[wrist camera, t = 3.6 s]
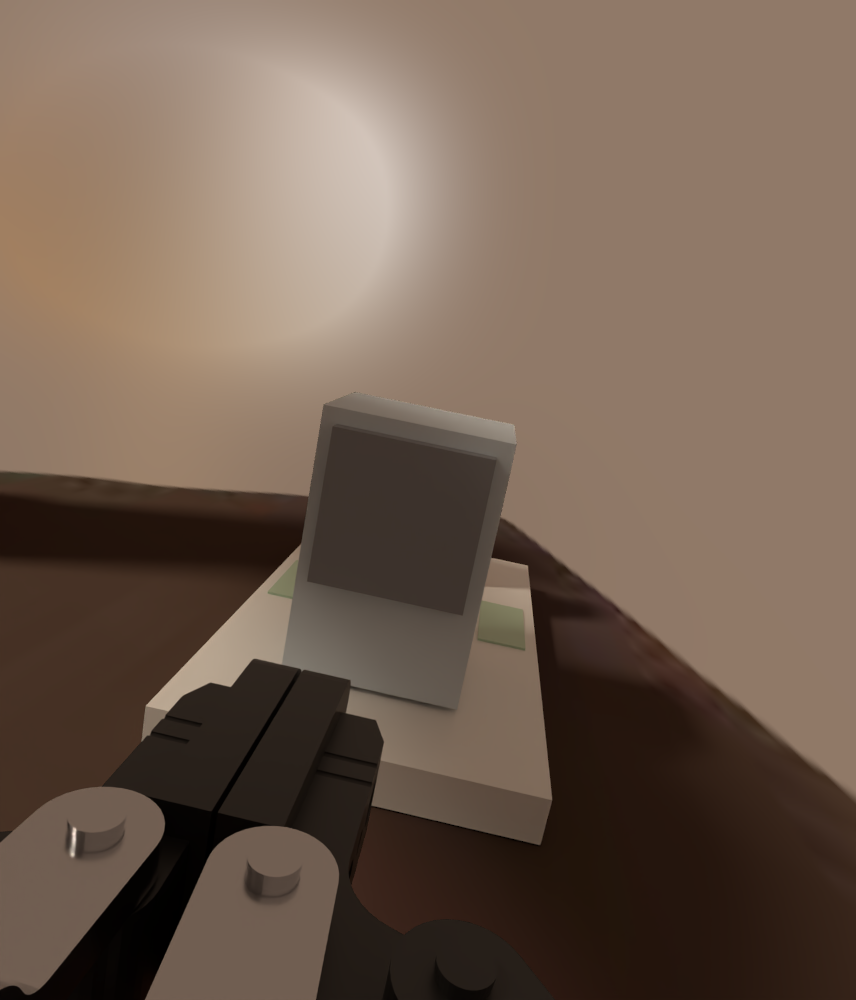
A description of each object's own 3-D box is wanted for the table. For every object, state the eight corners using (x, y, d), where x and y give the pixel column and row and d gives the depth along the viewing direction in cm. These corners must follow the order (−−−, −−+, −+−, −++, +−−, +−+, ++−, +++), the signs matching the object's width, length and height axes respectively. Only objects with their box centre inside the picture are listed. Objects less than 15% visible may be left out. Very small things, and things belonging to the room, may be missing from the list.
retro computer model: (455, 719, 24) (516, 447, 22) (275, 677, 24) (319, 406, 22) (464, 647, 30) (514, 424, 27) (317, 614, 30) (355, 391, 28)
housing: (540, 845, 22) (553, 796, 21) (140, 751, 22) (146, 702, 22) (522, 590, 43) (528, 564, 43) (318, 545, 44) (322, 519, 43)
